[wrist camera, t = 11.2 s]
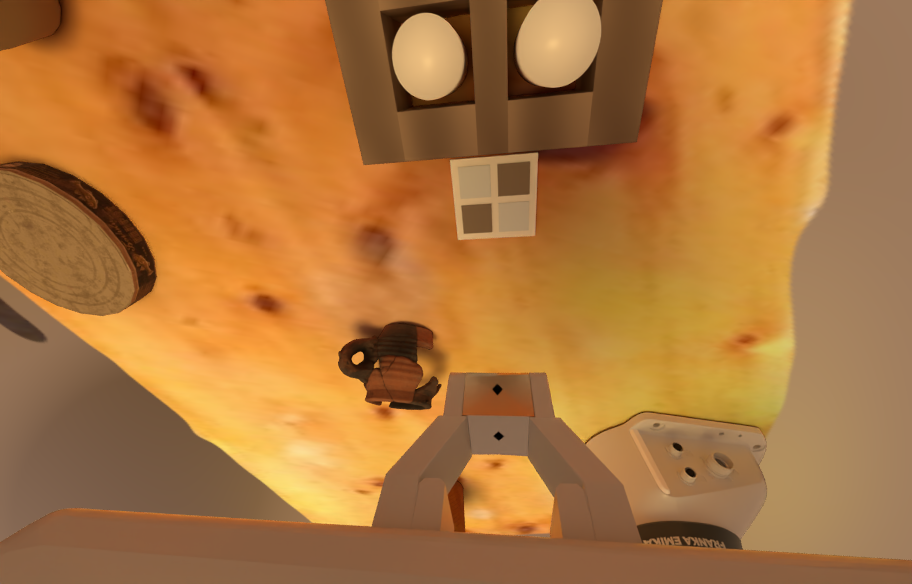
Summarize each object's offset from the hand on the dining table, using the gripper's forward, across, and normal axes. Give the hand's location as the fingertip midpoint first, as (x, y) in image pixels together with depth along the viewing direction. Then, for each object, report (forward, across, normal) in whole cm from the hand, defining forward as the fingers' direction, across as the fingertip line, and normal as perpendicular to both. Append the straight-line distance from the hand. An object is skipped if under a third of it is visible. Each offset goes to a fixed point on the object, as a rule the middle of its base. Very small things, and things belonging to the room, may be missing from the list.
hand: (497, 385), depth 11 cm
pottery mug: (+22, -12, -18) cm, 30 cm away
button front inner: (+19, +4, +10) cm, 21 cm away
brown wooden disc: (+22, -44, -2) cm, 49 cm away
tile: (+21, 0, 0) cm, 21 cm away
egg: (+20, -3, +10) cm, 23 cm away
